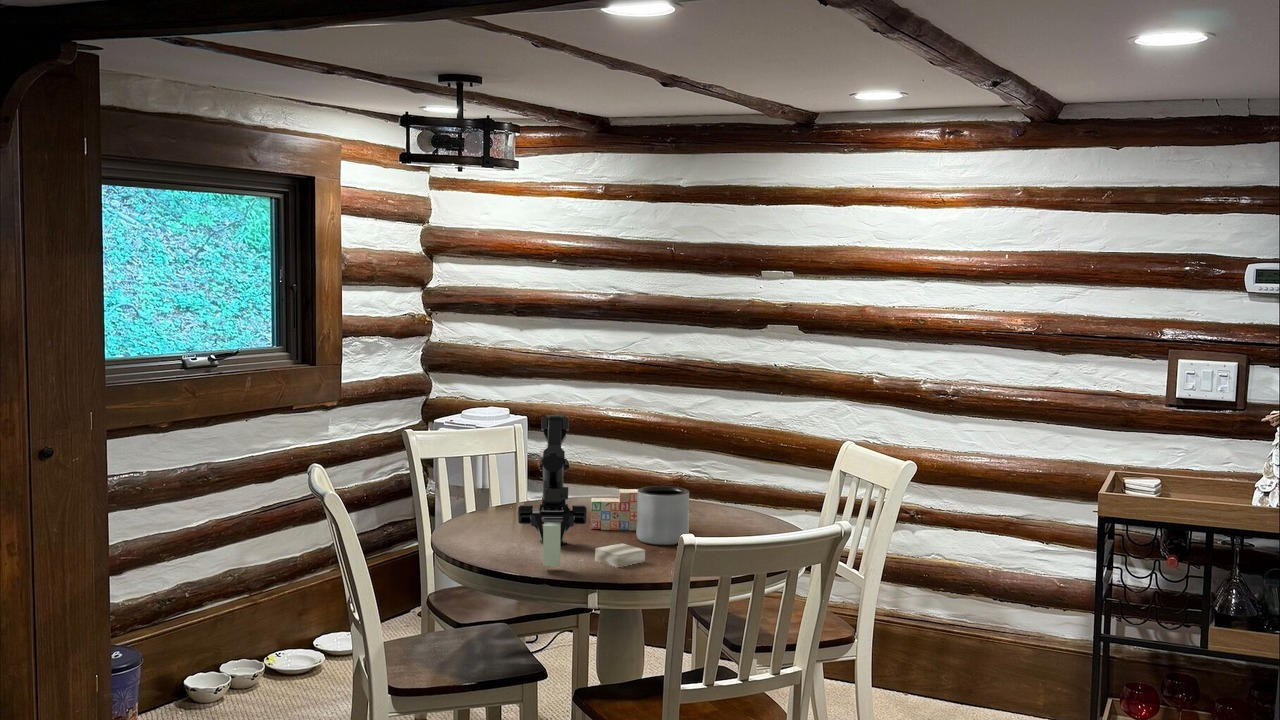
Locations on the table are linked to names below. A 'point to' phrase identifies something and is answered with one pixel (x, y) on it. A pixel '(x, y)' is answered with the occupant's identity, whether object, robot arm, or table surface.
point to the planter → (662, 514)
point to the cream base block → (619, 555)
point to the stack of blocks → (615, 511)
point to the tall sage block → (551, 543)
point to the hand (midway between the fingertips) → (551, 540)
